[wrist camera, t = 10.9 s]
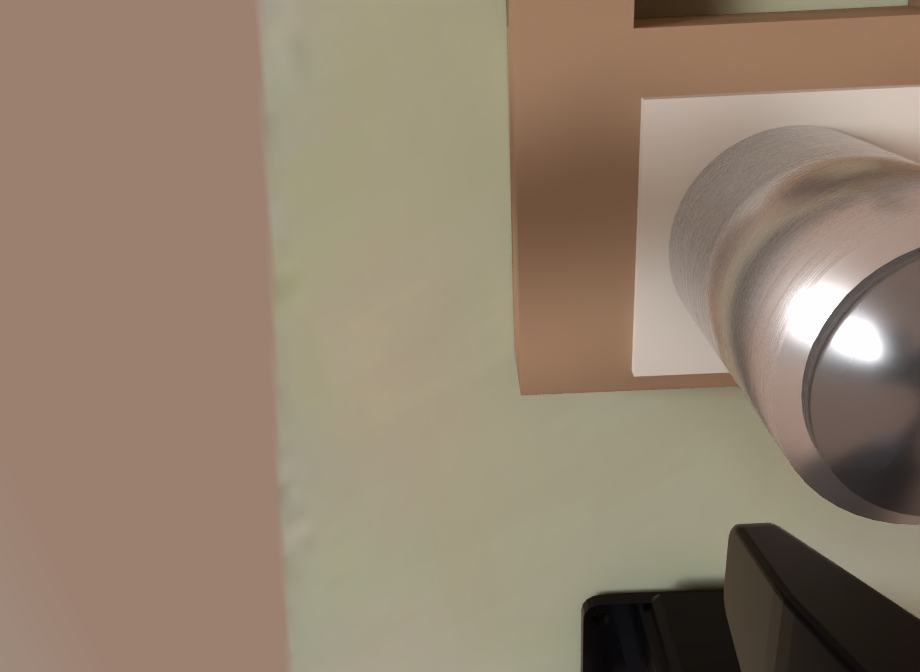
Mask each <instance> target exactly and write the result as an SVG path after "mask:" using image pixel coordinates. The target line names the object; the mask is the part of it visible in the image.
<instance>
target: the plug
mask: <svg viewBox="0 0 920 672" xmlns="http://www.w3.org/2000/svg"><path fill="white" fill-rule="evenodd" d="M669 264H670V272H671V276H672V279H673V283H674V286H675V289H676V291H677V293H678V296H679V298H680V300H681V301H682V303H683V304H684V306H685V308H686V309H687V311H688V312H689V314H690V315H691V317H692V318H693V320H694V321H695V322H696V324H697V325H698V327H699V328H700V330H701V331H702V333H703V334H704V336H705V337H706V339H707V340H708V342H709V343H710V345H711V346H712V348H713V349H714V351H715V352H716V354H717V355H718V357H719V358H720V360H721V361H722V362H723V364H724V365H725V367H726V368H727V370H728V371H729V373H730V374H731V376H732V377H733V379H734V380H735V382H736V383H737V385H738V386H739V388H740V389H741V391H742V392H743V394H744V395H745V397H746V398H747V400H748V401H749V402H750V404H751V405H752V407H753V408H754V410H755V411H756V413H757V414H758V416H759V417H760V419H761V420H762V422H763V423H764V425H765V426H766V428H767V429H768V431H769V432H770V434H771V435H772V437H773V438H774V439H775V441H776V442H777V444H778V445H779V447H780V448H781V450H782V451H783V453H784V454H785V456H786V457H787V459H788V460H789V462H790V463H791V465H792V466H793V468H794V469H795V471H796V472H797V473H798V474H799V475H800V476H801V477H802V479H803V480H804V481H805V482H806V483H807V484H808V485H809V486H810V487H811V488H812V489H813V490H815V491H816V492H817V493H818V494H819V495H821V496H822V497H823V498H825V499H827V500H828V501H830V502H831V503H833V504H835V505H836V506H838V507H840V508H842V509H844V510H847V511H849V512H851V513H853V514H856V515H859V516H862V517H866V518H869V519H872V520H877V521H883V522H889V523H895V524H914V525H917V524H920V164H919V163H917V162H914V161H912V160H909V159H907V158H904V157H902V156H899V155H897V154H894V153H892V152H890V151H887V150H885V149H882V148H880V147H877V146H875V145H872V144H870V143H867V142H865V141H862V140H860V139H857V138H855V137H852V136H850V135H847V134H845V133H842V132H839V131H836V130H833V129H830V128H825V127H819V126H809V125H795V126H784V127H779V128H774V129H769V130H766V131H763V132H760V133H757V134H754V135H752V136H750V137H748V138H746V139H744V140H741V141H739V142H738V143H736V144H734V145H733V146H731V147H730V148H728V149H726V150H725V151H723V152H722V153H721V154H720V155H719V156H717V157H716V158H715V159H714V160H712V161H711V162H710V163H709V164H708V165H707V166H706V167H705V168H704V169H703V170H702V171H701V172H700V174H699V175H698V176H697V178H696V179H695V180H694V181H693V183H692V184H691V185H690V187H689V188H688V190H687V192H686V194H685V195H684V197H683V199H682V201H681V203H680V205H679V207H678V210H677V212H676V214H675V218H674V221H673V225H672V228H671V234H670V241H669Z"/></svg>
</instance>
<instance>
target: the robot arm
mask: <svg viewBox="0 0 920 672" xmlns="http://www.w3.org/2000/svg"><path fill="white" fill-rule="evenodd" d="M597 612H606V613H605V614H604V615H601V616H595V615H594V614H595V613H597ZM581 672H920V619H918V618H917V617H915V616H914V615H912V614H911V613H909V612H908V611H906V610H905V609H903V608H902V607H900V606H899V605H897V604H896V603H894V602H893V601H891V600H890V599H888V598H887V597H885V596H883V595H882V594H880V593H879V592H877V591H876V590H874V589H873V588H871V587H870V586H868V585H867V584H865V583H864V582H862V581H861V580H859V579H858V578H856V577H855V576H853V575H852V574H850V573H849V572H847V571H846V570H844V569H843V568H841V567H840V566H838V565H837V564H835V563H834V562H832V561H831V560H829V559H828V558H826V557H824V556H823V555H821V554H820V553H818V552H817V551H815V550H814V549H812V548H811V547H809V546H808V545H806V544H805V543H803V542H802V541H800V540H799V539H797V538H796V537H794V536H793V535H791V534H790V533H788V532H787V531H785V530H784V529H782V528H781V527H779V526H777V525H775V524H772V523H753V524H737V525H735V526H734V527H733V528H732V529H731V531H730V534H729V539H728V549H727V560H726V571H725V582H724V590H722V591H696V592H670V593H644V594H618V595H598V596H593V597H591V598H589V599H587V600H586V601H585V602H584V604H583V606H582V609H581Z"/></svg>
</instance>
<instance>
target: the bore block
mask: <svg viewBox="0 0 920 672" xmlns="http://www.w3.org/2000/svg"><path fill="white" fill-rule="evenodd" d="M506 6H507V49H508V92H509V135H510V178H511V221H512V264H513V307H514V350H515V357H516V364H517V371H518V378H519V385H520V391H521V395H537V394H561V393H585V392H609V391H632V390H656V389H680V388H704V387H727V386H738V385H737V383H736V382H735V380H734V379H733V377H732V376H731V374H730V373H729V371H728V370H727V368H726V367H725V365H724V364H723V362H722V361H721V360H720V358H719V357H718V355H717V354H716V352H715V351H714V349H713V348H712V346H711V345H710V343H709V342H708V340H707V339H706V337H705V336H704V334H703V333H702V331H701V330H700V328H699V327H698V325H697V324H696V322H695V321H694V320H693V318H692V317H691V315H690V314H689V312H688V311H687V309H686V308H685V306H684V304H683V303H682V301H681V300H680V298H679V296H678V293H677V291H676V289H675V286H674V283H673V279H672V276H671V272H670V264H669V241H670V234H671V228H672V225H673V221H674V218H675V214H676V212H677V210H678V207H679V205H680V203H681V201H682V199H683V197H684V195H685V194H686V192H687V190H688V188H689V187H690V185H691V184H692V183H693V181H694V180H695V179H696V178H697V176H698V175H699V174H700V172H701V171H702V170H703V169H704V168H705V167H706V166H707V165H708V164H709V163H710V162H711V161H712V160H714V159H715V158H716V157H717V156H719V155H720V154H721V153H722V152H723V151H725V150H726V149H728V148H730V147H731V146H733V145H734V144H736V143H738V142H739V141H741V140H744V139H746V138H748V137H750V136H752V135H754V134H757V133H760V132H763V131H766V130H769V129H774V128H779V127H784V126H795V125H809V126H819V127H825V128H830V129H833V130H836V131H839V132H842V133H845V134H847V135H850V136H852V137H855V138H857V139H860V140H862V141H865V142H867V143H870V144H872V145H875V146H877V147H880V148H882V149H885V150H887V151H890V152H892V153H894V154H897V155H899V156H902V157H904V158H907V159H909V160H912V161H914V162H917V163H919V164H920V0H909V1H908V6H889V7H868V8H848V9H827V10H807V11H786V12H766V13H745V14H725V15H705V16H684V17H664V18H643V19H634V0H506Z"/></svg>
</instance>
